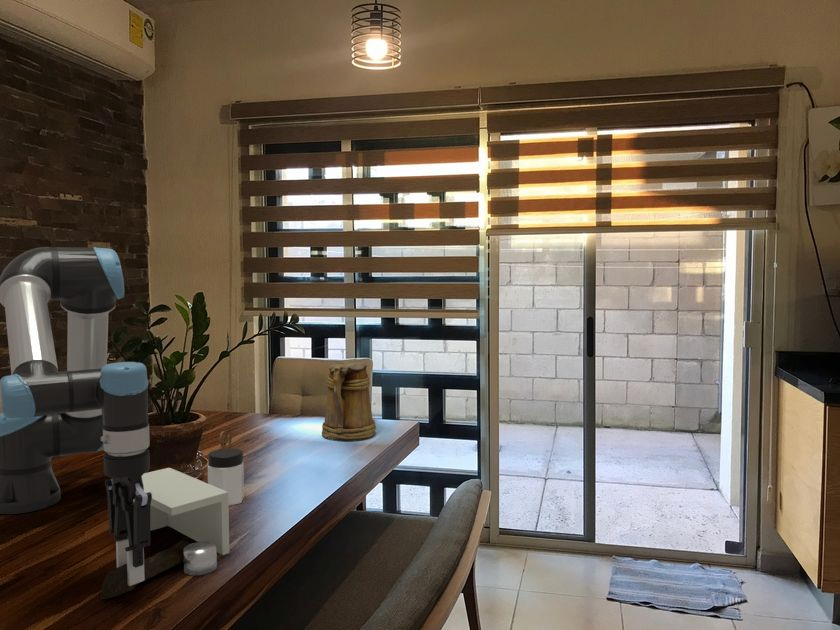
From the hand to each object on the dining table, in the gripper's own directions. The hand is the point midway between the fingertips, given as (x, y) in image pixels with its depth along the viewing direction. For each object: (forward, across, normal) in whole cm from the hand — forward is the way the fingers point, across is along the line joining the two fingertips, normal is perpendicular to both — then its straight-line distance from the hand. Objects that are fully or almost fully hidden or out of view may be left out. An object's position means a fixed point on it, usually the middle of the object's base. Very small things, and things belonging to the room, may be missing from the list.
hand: (130, 578), depth 123 cm
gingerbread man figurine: (+2, -46, +47) cm, 66 cm away
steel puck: (+2, +2, +12) cm, 13 cm away
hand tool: (+2, 0, +4) cm, 4 cm away
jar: (+2, -27, +36) cm, 45 cm away
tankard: (+2, -52, +97) cm, 110 cm away
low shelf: (+2, -12, +14) cm, 19 cm away
